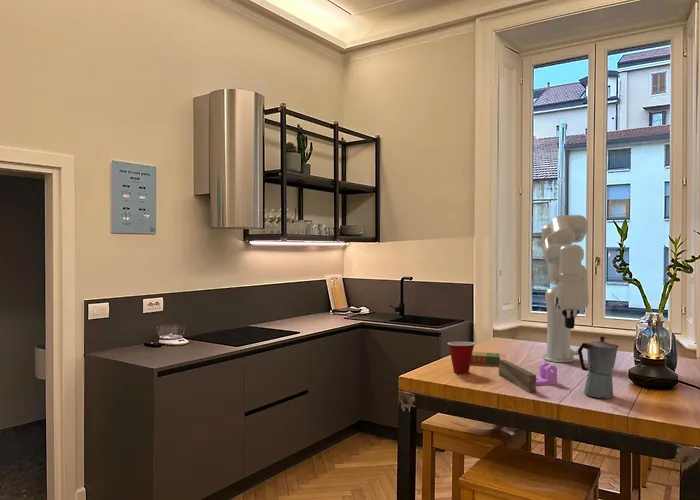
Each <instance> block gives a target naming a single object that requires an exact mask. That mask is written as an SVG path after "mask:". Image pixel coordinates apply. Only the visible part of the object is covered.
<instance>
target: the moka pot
mask: <svg viewBox="0 0 700 500" xmlns="http://www.w3.org/2000/svg"><path fill="white" fill-rule="evenodd" d="M605 339H606V336H600V340H599V341H589V342H583V343H581V345H580V346H579V348H578V349H577V351H578V354H579V355H578V356H579V357H578V358H579V362H580V365H581V369H582V371H585V372H588V373H587V377H586V381H585V386H584V389H583V390H584V391H583V392H584V394H585V395H586V396H589V397H592V398H597V399H606V400H607V399H613V398H614V388H613V387H614V386H613V375H612V374H613V370H614V369H615V364H616V359H617V353H618V348H620V346H619V345H618V344H614V343H611V342H610V343H609V342H606V341H605ZM583 349H586V351H587V365H588V367H586V366H585V363H584V362H585V361H584V354H583V351H582V350H583Z"/></svg>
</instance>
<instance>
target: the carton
mask: <svg viewBox="0 0 700 500" xmlns="http://www.w3.org/2000/svg"><path fill="white" fill-rule="evenodd" d="M499 360H501V357H500V353H499V352H482V351H480V352H479V351H473V352H472V358H471V364H470V365H475V366H476V365H478V366H479V365H480V366H497V367H499Z"/></svg>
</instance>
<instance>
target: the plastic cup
mask: <svg viewBox="0 0 700 500" xmlns="http://www.w3.org/2000/svg"><path fill="white" fill-rule="evenodd" d="M475 345H476V343H475V342H472V341H450V342H447V346H448V348H449V352H450V357H451V364H452V369H453V373H454V374H459V375H466V374H469V372H470V367H471V365H472V364H471V358H472V352H474V347H475Z"/></svg>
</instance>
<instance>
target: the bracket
mask: <svg viewBox="0 0 700 500" xmlns="http://www.w3.org/2000/svg"><path fill="white" fill-rule="evenodd" d="M544 385H545V386H547V385H558V369H557V366H555V365H553V364H550V363H548V362H546V361H545V362H544V361H543V362H541V363H540V365H539V376H538V377H537V376H536V386H544Z"/></svg>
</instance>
